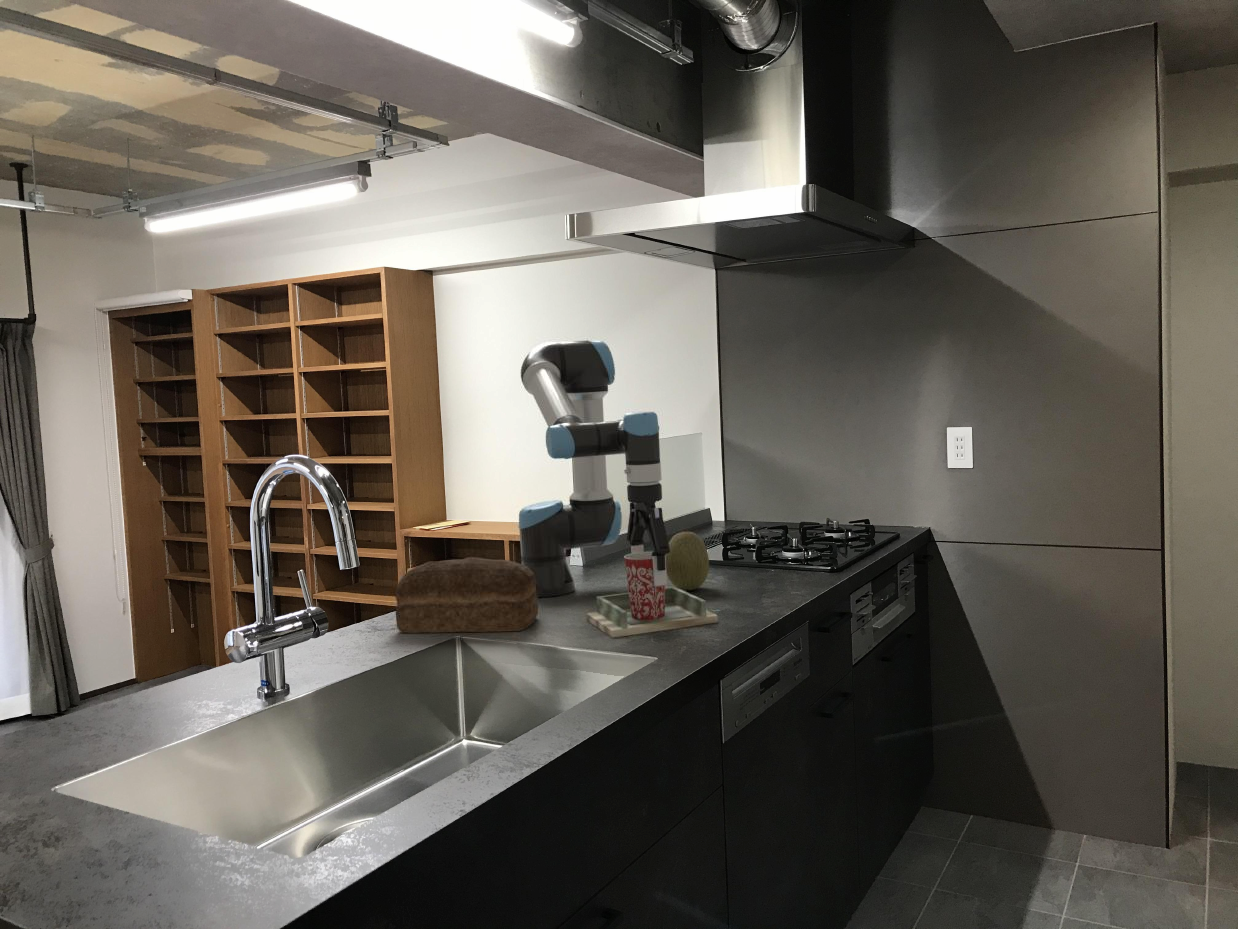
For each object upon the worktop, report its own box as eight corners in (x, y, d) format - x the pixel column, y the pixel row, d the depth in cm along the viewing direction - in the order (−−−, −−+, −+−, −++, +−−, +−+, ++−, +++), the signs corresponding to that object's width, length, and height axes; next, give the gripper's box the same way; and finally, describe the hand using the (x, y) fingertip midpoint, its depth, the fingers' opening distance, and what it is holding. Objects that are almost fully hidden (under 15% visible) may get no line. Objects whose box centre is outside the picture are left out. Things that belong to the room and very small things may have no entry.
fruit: (658, 589, 244) (655, 531, 242) (697, 583, 248) (694, 526, 247) (678, 596, 233) (675, 536, 232) (719, 590, 237) (715, 531, 236)
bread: (415, 620, 226) (410, 554, 225) (545, 617, 220) (540, 549, 219) (390, 635, 212) (384, 565, 211) (528, 633, 206) (523, 561, 205)
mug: (654, 622, 201) (650, 559, 200) (619, 619, 206) (615, 557, 205) (685, 610, 211) (682, 549, 210) (651, 606, 216) (647, 548, 215)
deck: (587, 620, 214) (585, 598, 214) (685, 606, 222) (684, 585, 221) (612, 637, 197) (610, 613, 197) (717, 622, 205) (716, 599, 204)
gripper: (609, 479, 217) (614, 571, 219) (648, 489, 193) (653, 592, 195) (640, 477, 219) (645, 567, 221) (682, 486, 196) (687, 588, 198)
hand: (649, 579), depth 208 cm, fingers open, 13 cm apart
